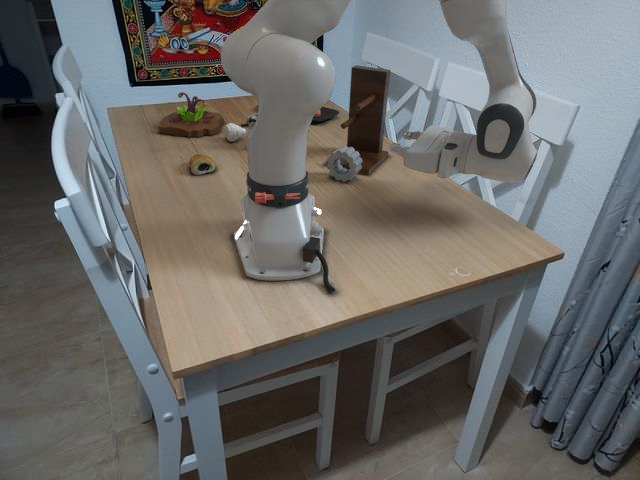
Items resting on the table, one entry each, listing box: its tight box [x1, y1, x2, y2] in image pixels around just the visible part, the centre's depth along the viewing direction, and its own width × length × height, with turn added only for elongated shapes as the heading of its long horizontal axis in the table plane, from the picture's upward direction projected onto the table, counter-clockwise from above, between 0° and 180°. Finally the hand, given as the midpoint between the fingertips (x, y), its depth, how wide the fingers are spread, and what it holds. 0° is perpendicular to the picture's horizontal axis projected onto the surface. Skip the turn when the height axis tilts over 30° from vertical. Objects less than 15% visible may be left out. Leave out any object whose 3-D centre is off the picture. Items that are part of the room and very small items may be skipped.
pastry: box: [188, 153, 217, 176], centre depth 120 cm, size 9×7×4 cm
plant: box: [158, 91, 225, 138], centre depth 145 cm, size 20×20×11 cm
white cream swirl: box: [224, 122, 247, 143], centre depth 138 cm, size 6×6×5 cm
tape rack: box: [326, 64, 391, 176], centre depth 121 cm, size 15×12×24 cm
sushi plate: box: [240, 106, 340, 127], centre depth 156 cm, size 29×30×4 cm
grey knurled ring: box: [326, 145, 362, 183], centre depth 116 cm, size 4×8×8 cm, turn 62°
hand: (397, 140), depth 106 cm, fingers open, 8 cm apart
